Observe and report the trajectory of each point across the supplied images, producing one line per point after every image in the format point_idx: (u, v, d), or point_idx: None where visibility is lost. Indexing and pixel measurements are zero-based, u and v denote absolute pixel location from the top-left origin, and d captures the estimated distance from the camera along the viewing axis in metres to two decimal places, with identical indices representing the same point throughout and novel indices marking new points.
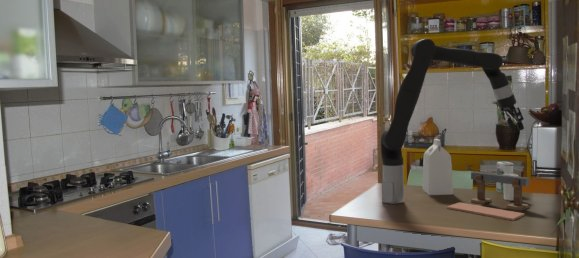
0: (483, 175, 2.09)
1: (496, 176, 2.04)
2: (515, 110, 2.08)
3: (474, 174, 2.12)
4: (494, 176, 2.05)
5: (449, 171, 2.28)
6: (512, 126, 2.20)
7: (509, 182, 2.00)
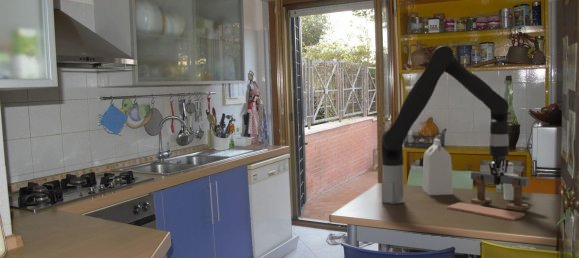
0: (483, 175, 2.09)
1: None
2: (490, 165, 2.01)
3: (474, 174, 2.12)
4: None
5: (449, 171, 2.28)
6: None
7: (509, 182, 2.00)
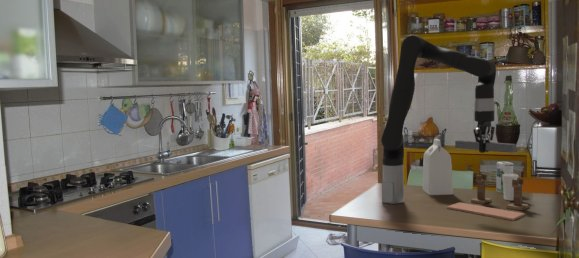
0: (468, 143, 1.97)
1: None
2: (474, 131, 1.89)
3: (458, 142, 2.00)
4: None
5: (449, 171, 2.28)
6: None
7: (495, 149, 1.89)
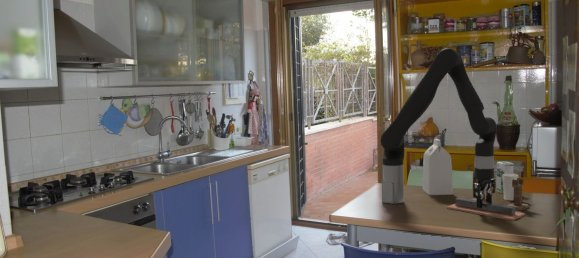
0: (468, 202, 1.99)
1: None
2: (474, 185, 1.91)
3: (458, 201, 2.02)
4: None
5: (449, 171, 2.28)
6: (488, 202, 1.98)
7: (494, 211, 1.91)
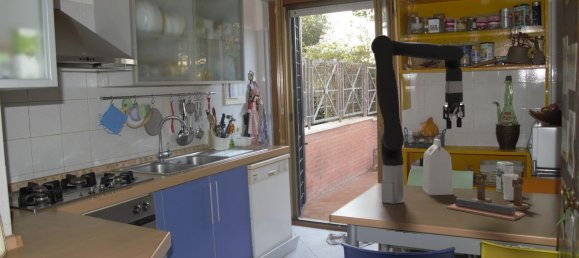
0: (468, 202, 1.99)
1: (481, 204, 1.95)
2: (444, 107, 2.07)
3: (458, 201, 2.02)
4: (479, 204, 1.95)
5: (449, 171, 2.28)
6: (458, 125, 2.14)
7: (494, 211, 1.91)
